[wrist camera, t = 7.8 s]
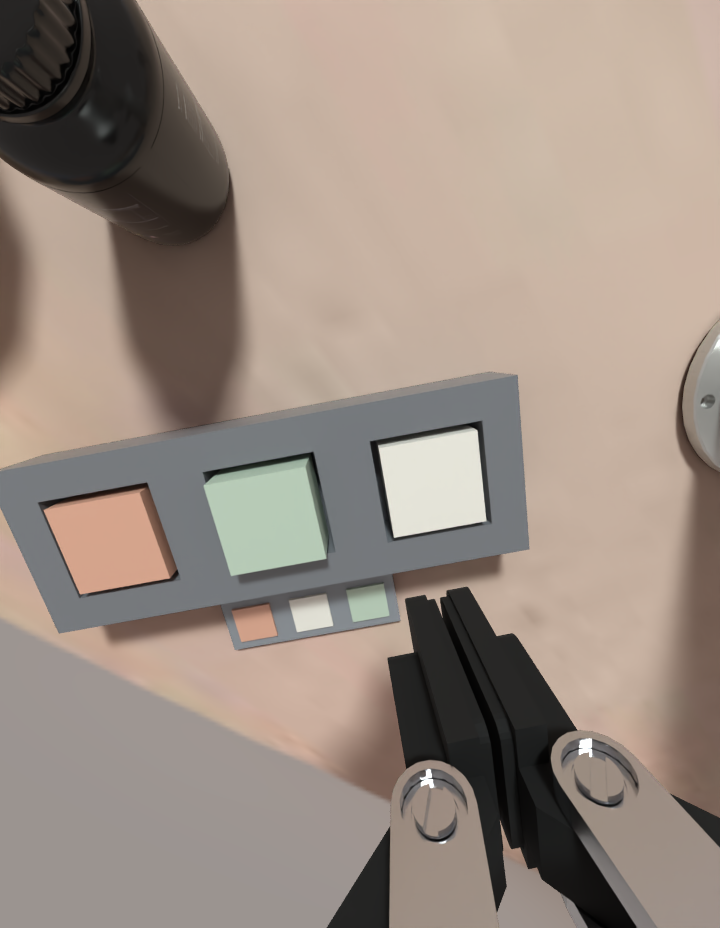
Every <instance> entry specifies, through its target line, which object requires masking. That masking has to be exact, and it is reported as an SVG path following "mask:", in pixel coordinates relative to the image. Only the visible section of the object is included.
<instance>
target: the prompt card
mask: <svg viewBox="0 0 720 928" xmlns="http://www.w3.org/2000/svg"><path fill="white" fill-rule="evenodd" d="M221 608H222V611H223V614H224V617H225V620H226V623H227V626H228V630H229V633H230V636H231V639H232V642H233V645H234V648H235V650H238V649H243V648H249V647H255V646H260V645H266V644H271V643H277V642H283V641H288V640H294V639H300V638H305V637H311V636H317V635H322V634H328V633H334V632H339V631H345V630H351V629H356V628H362V627H367V626H373V625H379V624H384V623H390V622H396V621H400V615H399V609H398V604H397V598H396V593H395V587H394V581H393V576H392V574H388V575H383V576H377V577H372V578H366V579H360V580H355V581H349V582H344V583H338V584H332V585H327V586H321V587H316V588H310V589H304V590H299V591H293V592H288V593H282V594H277V595H271V596H265V597H260V598H254V599H249V600H243V601H237V602H232V603H226V604H221Z"/></svg>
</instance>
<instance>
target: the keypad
mask: <svg viewBox="0 0 720 928" xmlns="http://www.w3.org/2000/svg"><path fill="white" fill-rule="evenodd" d="M461 424H467V425H469V426H471V427H472V428H474V429H476V430H477V432H478V442H479V452H480V462H481V472H482V482H483V492H484V502H485V512H486V521H484V522H479V523H473V524H468V525H462V526H457V527H451V528H446V529H440V530H435V531H429V532H423V533H418V534H412V535H407V536H401V537H396V538H394V535H393V531H392V528H391V524H390V520H389V516H388V510H387V505H386V499H385V493H384V487H383V482H382V476H381V470H380V464H379V459H378V453H377V447H376V441H375V440H379V439H385V438H390V437H396V436H401V435H406V434H412V433H417V432H423V431H428V430H434V429H439V428H444V427H450V426H455V425H461ZM305 453H311V456H312V461H313V465H314V470H315V474H316V479H317V483H318V488H319V492H320V497H321V501H322V506H323V510H324V515H325V519H326V524H327V528H328V533H329V537H328V547H327V557H326V559H323V560H317V561H312V562H306V563H300V564H295V565H289V566H284V567H278V568H273V569H267V570H262V571H256V572H251V573H245V574H239V575H234V576H231V574H230V571H229V568H228V564H227V561H226V558H225V554H224V551H223V548H222V545H221V541H220V538H219V535H218V532H217V528H216V525H215V522H214V519H213V515H212V512H211V509H210V506H209V502H208V499H207V496H206V493H205V489H204V485H205V484H206V483H207V482H208V481H209V480H210V479H211V478H212V477H213V476H215V475H216V474H217V473H218V472H219V471H220V470H221V469H224V468H229V467H235V466H240V465H246V464H251V463H256V462H262V461H267V460H273V459H278V458H284V457H289V456H294V455H300V454H305ZM146 482H147V483H148V486H149V489H150V492H151V494H152V497H153V500H154V503H155V506H156V509H157V512H158V515H159V517H160V520H161V523H162V526H163V529H164V532H165V535H166V538H167V540H168V543H169V546H170V549H171V552H172V555H173V558H174V561H175V563H176V566H177V570H176V571H175V573H174V574H173V575H172V576H171V578H169V579H163V580H157V581H152V582H146V583H141V584H135V585H130V586H124V587H119V588H113V589H108V590H102V591H96V592H91V593H85V594H80V593H79V591H78V588H77V586H76V584H75V582H74V579H73V577H72V575H71V572H70V570H69V568H68V565H67V563H66V561H65V558H64V556H63V554H62V552H61V549H60V547H59V545H58V542H57V540H56V538H55V535H54V533H53V531H52V529H51V526H50V524H49V522H48V519H47V517H46V515H45V512H44V510H45V509H47V508H49V507H51V506H53V505H55V504H57V503H59V502H61V501H63V500H65V499H66V498H68V497H70V496H75V495H81V494H86V493H92V492H97V491H103V490H108V489H113V488H119V487H124V486H130V485H135V484H141V483H146ZM0 508H1V510H2V512H3V514H4V516H5V519H6V521H7V523H8V525H9V527H10V529H11V531H12V534H13V536H14V538H15V540H16V542H17V544H18V546H19V549H20V551H21V553H22V555H23V557H24V559H25V561H26V564H27V566H28V568H29V570H30V572H31V574H32V576H33V579H34V581H35V583H36V585H37V587H38V589H39V592H40V594H41V596H42V598H43V600H44V602H45V604H46V607H47V609H48V611H49V613H50V615H51V617H52V619H53V622H54V624H55V626H56V628H57V630H58V632H59V633H64V632H70V631H75V630H81V629H87V628H92V627H98V626H103V625H109V624H115V623H120V622H126V621H131V620H137V619H142V618H148V617H154V616H159V615H165V614H170V613H176V612H182V611H187V610H193V609H198V608H204V607H209V606H215V605H221V604H226V603H232V602H237V601H243V600H249V599H254V598H260V597H265V596H271V595H277V594H282V593H288V592H293V591H299V590H304V589H310V588H316V587H321V586H327V585H332V584H338V583H344V582H349V581H355V580H360V579H366V578H372V577H377V576H383V575H388V574H394V573H399V572H405V571H411V570H416V569H422V568H427V567H433V566H439V565H444V564H450V563H455V562H461V561H467V560H472V559H478V558H483V557H489V556H494V555H500V554H506V553H511V552H517V551H522V550H528V549H529V537H528V522H527V508H526V493H525V478H524V464H523V449H522V434H521V420H520V405H519V390H518V376H517V375H513V374H504V373H495V372H486V373H481V374H476V375H470V376H465V377H460V378H454V379H449V380H443V381H438V382H433V383H427V384H422V385H417V386H411V387H406V388H400V389H395V390H390V391H384V392H379V393H374V394H368V395H363V396H357V397H352V398H347V399H341V400H336V401H331V402H325V403H320V404H315V405H309V406H304V407H298V408H293V409H288V410H282V411H277V412H272V413H266V414H261V415H255V416H250V417H245V418H239V419H234V420H229V421H223V422H218V423H212V424H207V425H202V426H196V427H191V428H186V429H180V430H175V431H170V432H164V433H159V434H153V435H148V436H143V437H137V438H132V439H127V440H121V441H116V442H110V443H105V444H100V445H94V446H89V447H84V448H78V449H73V450H67V451H62V452H57V453H51V454H46V455H41V456H38V457H35V458H32V459H29V460H26V461H23V462H20V463H17V464H14V465H11V466H8V467H5V468H2V469H0Z"/></svg>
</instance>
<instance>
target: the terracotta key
mask: <svg viewBox="0 0 720 928" xmlns="http://www.w3.org/2000/svg"><path fill="white" fill-rule="evenodd" d="M44 512H45V515H46V517H47V519H48V522H49V524H50V526H51V529H52V531H53V533H54V535H55V538H56V540H57V542H58V545H59V547H60V549H61V552H62V554H63V556H64V558H65V561H66V563H67V565H68V568H69V570H70V572H71V575H72V577H73V579H74V582H75V584H76V586H77V588H78V591H79V593H80V594H85V593H91V592H96V591H102V590H108V589H113V588H119V587H124V586H130V585H135V584H141V583H146V582H152V581H157V580H163V579H169V578H171V576H172V575H173V574H174V573H175V571H176V570H177V566H176V563H175V561H174V558H173V555H172V552H171V549H170V546H169V543H168V540H167V538H166V535H165V532H164V529H163V526H162V523H161V520H160V517H159V515H158V512H157V509H156V506H155V503H154V500H153V497H152V494H151V492H150V489H149V486H148V483H147V482H146V483H141V484H135V485H130V486H124V487H119V488H113V489H108V490H103V491H97V492H92V493H86V494H81V495H75V496H70V497H68V498H66V499H65V500H63V501H61V502H59V503H57V504H55V505H53V506H51V507H49V508H47V509H45V510H44Z"/></svg>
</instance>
